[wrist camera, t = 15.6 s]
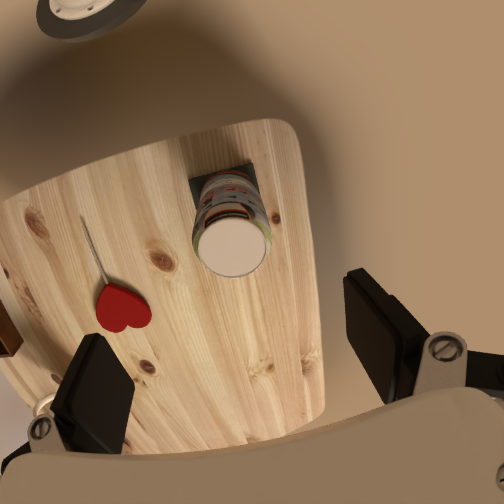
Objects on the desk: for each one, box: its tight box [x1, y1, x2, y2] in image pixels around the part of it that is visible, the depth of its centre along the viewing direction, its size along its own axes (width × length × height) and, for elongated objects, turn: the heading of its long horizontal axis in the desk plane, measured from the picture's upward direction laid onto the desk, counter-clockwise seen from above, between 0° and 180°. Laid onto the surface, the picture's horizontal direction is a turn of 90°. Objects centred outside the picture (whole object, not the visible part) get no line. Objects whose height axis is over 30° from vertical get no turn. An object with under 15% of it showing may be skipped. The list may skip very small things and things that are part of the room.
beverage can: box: [192, 170, 272, 278], centre depth 26 cm, size 6×7×12 cm
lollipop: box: [82, 225, 152, 333], centre depth 33 cm, size 8×1×15 cm
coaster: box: [188, 163, 260, 209], centre depth 31 cm, size 7×7×1 cm
